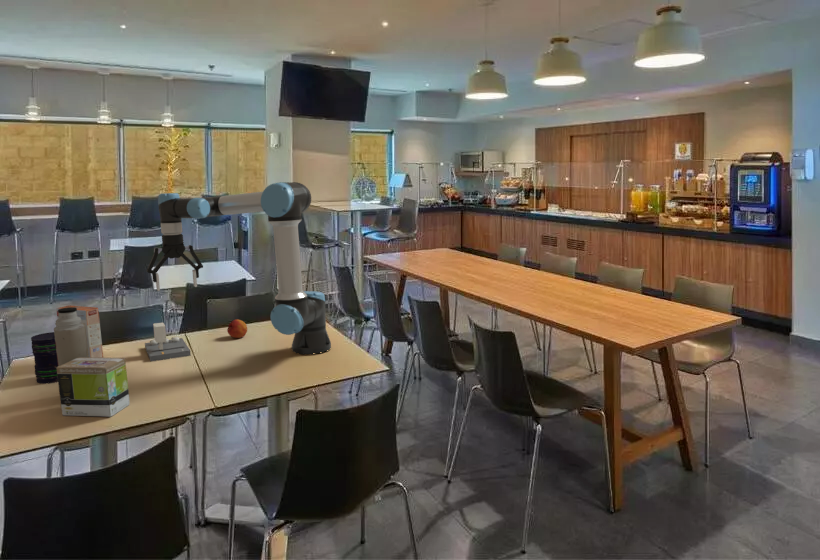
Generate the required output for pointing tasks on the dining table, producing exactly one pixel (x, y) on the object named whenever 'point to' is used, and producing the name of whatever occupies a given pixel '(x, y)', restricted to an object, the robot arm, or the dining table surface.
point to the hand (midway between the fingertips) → (177, 288)
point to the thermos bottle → (69, 336)
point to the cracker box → (90, 329)
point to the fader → (159, 334)
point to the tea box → (93, 386)
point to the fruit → (237, 329)
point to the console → (167, 349)
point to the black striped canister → (45, 357)
